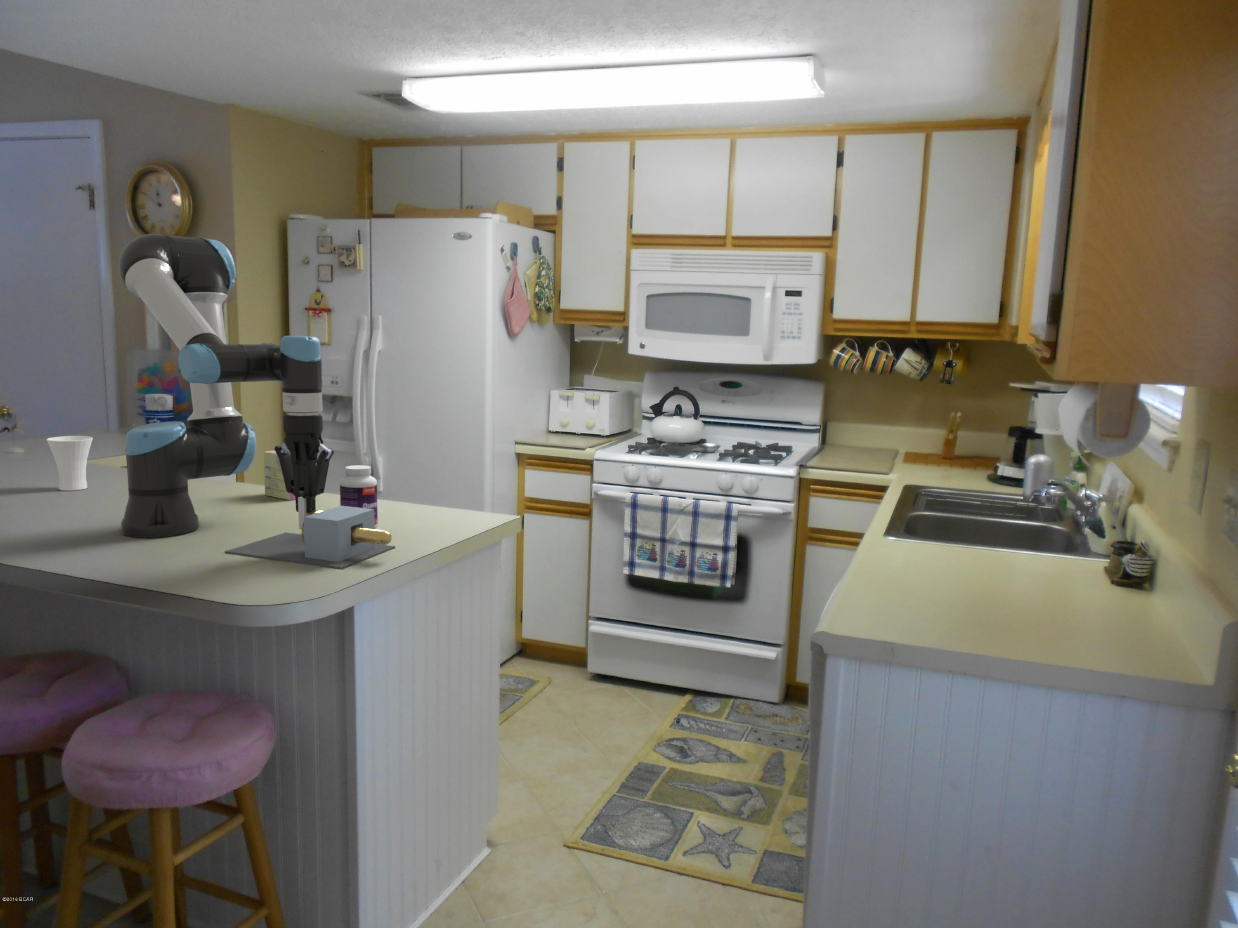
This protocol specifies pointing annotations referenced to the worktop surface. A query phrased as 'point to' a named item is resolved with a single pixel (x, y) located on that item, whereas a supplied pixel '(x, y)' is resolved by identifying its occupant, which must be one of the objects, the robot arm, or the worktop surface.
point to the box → (274, 477)
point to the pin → (363, 534)
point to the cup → (71, 460)
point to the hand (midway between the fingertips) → (306, 527)
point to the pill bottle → (359, 489)
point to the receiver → (336, 533)
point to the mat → (298, 551)
